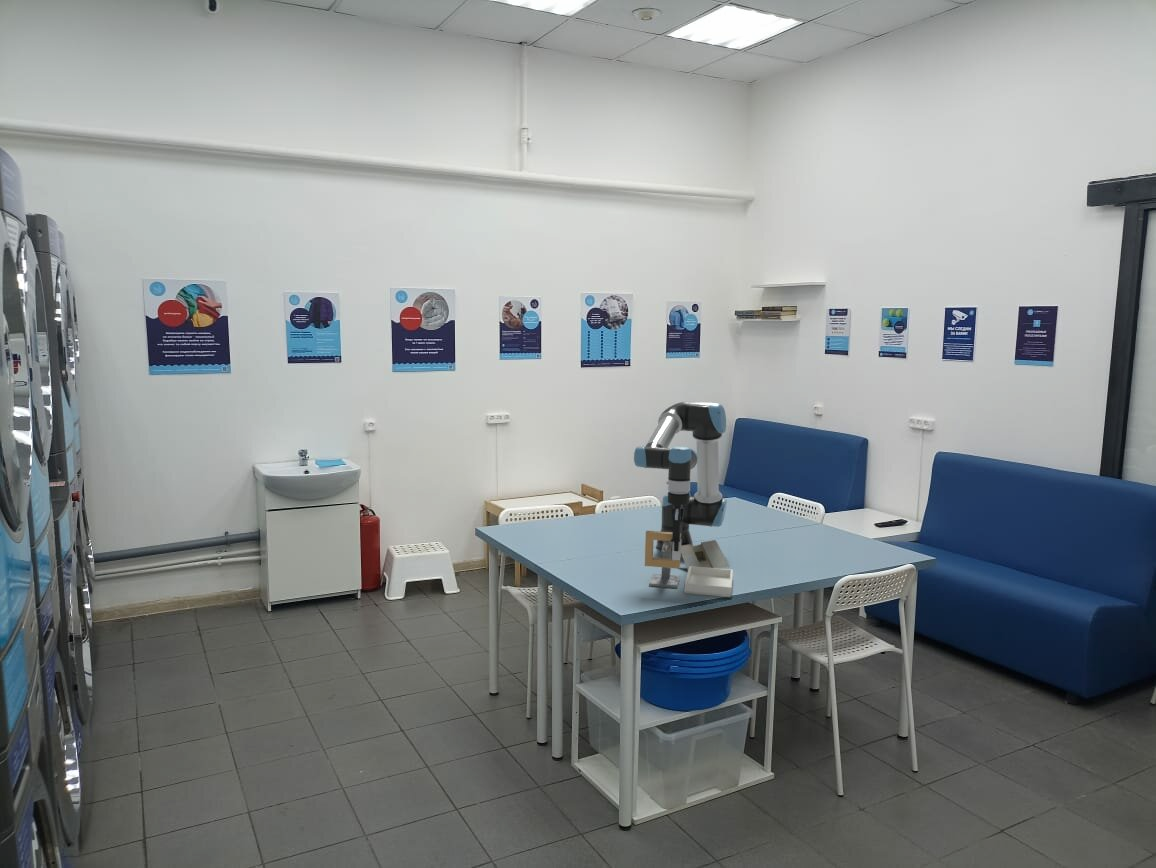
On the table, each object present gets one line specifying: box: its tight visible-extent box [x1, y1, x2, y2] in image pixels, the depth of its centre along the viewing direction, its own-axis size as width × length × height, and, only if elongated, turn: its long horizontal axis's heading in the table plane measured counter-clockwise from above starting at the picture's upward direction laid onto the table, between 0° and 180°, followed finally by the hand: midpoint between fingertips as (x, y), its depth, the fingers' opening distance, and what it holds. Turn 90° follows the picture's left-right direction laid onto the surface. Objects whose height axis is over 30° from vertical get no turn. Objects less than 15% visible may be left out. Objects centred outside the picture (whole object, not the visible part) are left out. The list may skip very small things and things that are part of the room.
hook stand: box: [648, 541, 681, 589], centre depth 292 cm, size 16×10×17 cm, turn 168°
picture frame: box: [644, 530, 681, 570], centre depth 282 cm, size 2×12×12 cm, turn 78°
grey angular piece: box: [681, 539, 730, 571], centre depth 315 cm, size 16×9×15 cm
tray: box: [684, 566, 734, 598], centre depth 291 cm, size 22×16×4 cm
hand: (676, 558), depth 282 cm, fingers closed on picture frame, 2 cm apart
